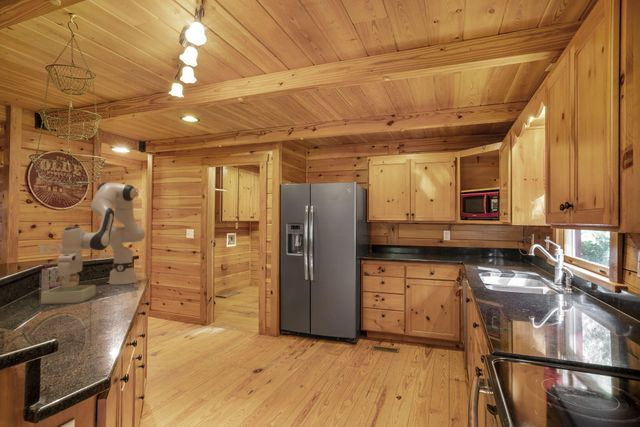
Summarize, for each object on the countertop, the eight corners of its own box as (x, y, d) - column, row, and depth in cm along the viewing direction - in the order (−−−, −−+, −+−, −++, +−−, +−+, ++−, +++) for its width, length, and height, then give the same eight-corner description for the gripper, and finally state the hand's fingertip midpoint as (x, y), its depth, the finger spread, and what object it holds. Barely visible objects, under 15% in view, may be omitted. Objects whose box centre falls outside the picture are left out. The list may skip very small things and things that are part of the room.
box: (58, 296, 184) (58, 286, 185) (95, 295, 189) (95, 284, 189) (40, 304, 167) (41, 292, 167) (81, 302, 172) (82, 291, 172)
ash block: (66, 284, 180) (66, 275, 180) (78, 284, 181) (79, 275, 181) (62, 286, 175) (62, 276, 175) (75, 285, 177) (75, 276, 177)
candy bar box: (56, 294, 190) (57, 266, 191) (65, 294, 190) (66, 266, 191) (40, 299, 179) (41, 268, 180) (49, 299, 179) (50, 268, 179)
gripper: (73, 254, 188) (72, 279, 187) (55, 258, 168) (54, 285, 168) (86, 254, 190) (85, 278, 189) (69, 258, 170) (68, 285, 169)
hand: (70, 282), depth 178 cm, fingers closed on ash block, 4 cm apart
